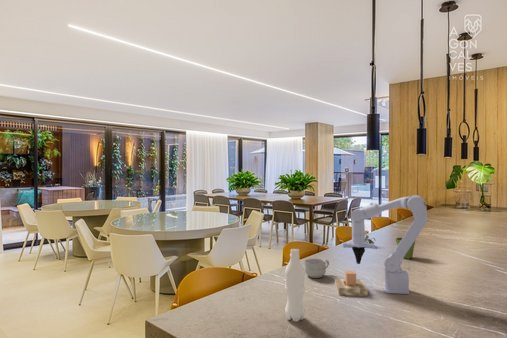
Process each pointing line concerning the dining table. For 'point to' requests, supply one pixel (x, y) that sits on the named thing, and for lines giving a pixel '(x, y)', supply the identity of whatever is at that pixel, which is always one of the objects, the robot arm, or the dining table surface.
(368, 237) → the passion flower
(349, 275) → the terracotta peg
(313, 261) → the teacup
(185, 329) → the dining table surface
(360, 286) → the birch socket block
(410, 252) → the plant pot
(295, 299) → the water bottle
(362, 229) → the robot arm
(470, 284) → the dining table surface
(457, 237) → the dining table surface
